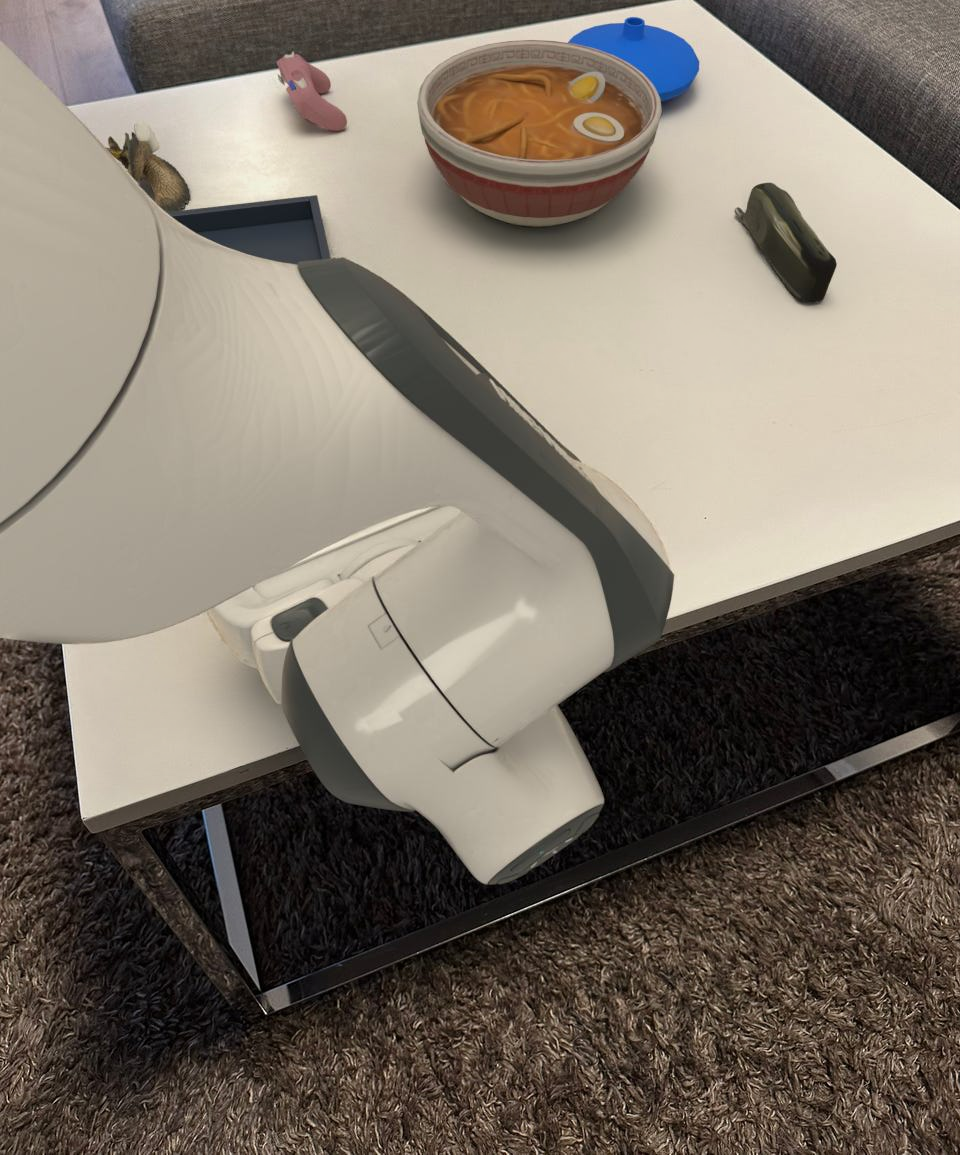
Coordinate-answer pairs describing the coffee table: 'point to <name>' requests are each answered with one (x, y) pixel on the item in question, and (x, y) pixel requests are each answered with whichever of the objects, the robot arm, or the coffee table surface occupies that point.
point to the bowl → (538, 128)
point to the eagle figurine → (151, 167)
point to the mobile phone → (788, 242)
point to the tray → (264, 228)
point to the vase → (646, 53)
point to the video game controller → (310, 92)
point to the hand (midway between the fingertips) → (311, 461)
